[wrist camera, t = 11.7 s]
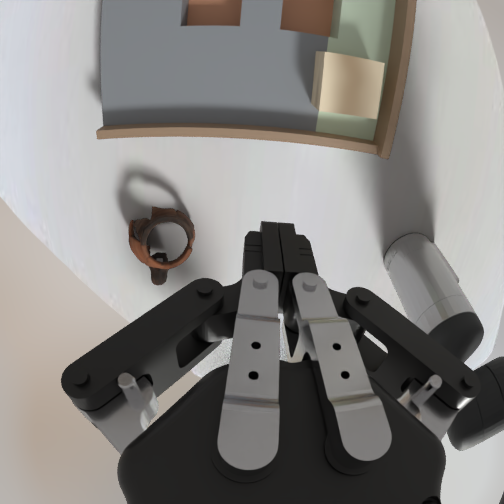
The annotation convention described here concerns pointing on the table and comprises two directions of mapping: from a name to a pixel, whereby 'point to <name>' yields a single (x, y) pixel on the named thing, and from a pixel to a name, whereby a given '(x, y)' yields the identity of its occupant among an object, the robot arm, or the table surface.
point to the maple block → (347, 84)
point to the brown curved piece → (158, 260)
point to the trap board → (247, 68)
